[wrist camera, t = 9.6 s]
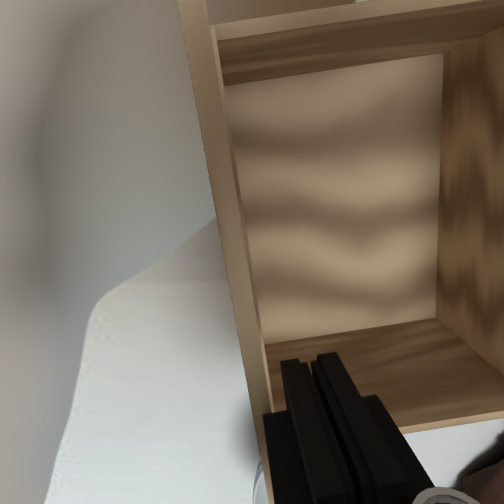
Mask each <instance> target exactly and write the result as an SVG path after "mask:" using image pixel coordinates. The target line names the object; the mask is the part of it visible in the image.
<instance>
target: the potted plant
mask: <svg viewBox="0 0 504 504" xmlns="http://www.w3.org/2000/svg"><path fill="white" fill-rule="evenodd" d="M462 483H463V489H464V493H465V494H466V495H468V496H470V497H471V498H473V499H474V500H476V501H478V502H479V503H480V504H504V459H503V460H502V461H500V462H499V463H497V464H494V465H492V466H489V467H486V468H484V469H482V470H480V471H477V472H475V473H473V474H471V475H469V476H467V477H465V478H463V479H462Z"/></svg>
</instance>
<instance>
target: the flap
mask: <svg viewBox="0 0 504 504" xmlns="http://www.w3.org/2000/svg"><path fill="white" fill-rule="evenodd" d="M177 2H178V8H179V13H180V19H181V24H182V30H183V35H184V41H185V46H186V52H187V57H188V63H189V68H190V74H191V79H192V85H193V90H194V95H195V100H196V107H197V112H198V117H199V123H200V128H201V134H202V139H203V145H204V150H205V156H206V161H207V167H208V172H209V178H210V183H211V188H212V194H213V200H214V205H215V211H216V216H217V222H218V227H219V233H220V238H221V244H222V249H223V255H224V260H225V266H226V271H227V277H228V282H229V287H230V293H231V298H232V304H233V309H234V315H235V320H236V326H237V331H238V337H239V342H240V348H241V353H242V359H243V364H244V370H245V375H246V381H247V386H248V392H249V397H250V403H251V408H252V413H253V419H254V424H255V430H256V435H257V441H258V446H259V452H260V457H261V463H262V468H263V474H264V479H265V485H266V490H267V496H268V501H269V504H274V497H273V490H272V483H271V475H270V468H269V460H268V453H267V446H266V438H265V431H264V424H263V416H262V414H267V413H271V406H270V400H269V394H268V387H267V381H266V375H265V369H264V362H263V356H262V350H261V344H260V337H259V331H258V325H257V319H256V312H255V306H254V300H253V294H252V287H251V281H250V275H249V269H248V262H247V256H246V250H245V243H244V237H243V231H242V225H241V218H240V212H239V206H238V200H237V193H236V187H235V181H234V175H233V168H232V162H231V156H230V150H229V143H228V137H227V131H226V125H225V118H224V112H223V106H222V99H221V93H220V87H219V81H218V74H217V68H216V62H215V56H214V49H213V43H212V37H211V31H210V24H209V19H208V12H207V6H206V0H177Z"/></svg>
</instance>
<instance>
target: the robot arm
mask: <svg viewBox="0 0 504 504" xmlns="http://www.w3.org/2000/svg"><path fill="white" fill-rule="evenodd" d="M280 367H281V374H282V381H283V388H284V395H285V402H286V409H287V410H284V411H279V412H273V413H267V414H262V416H263V424H264V431H265V438H266V446H267V453H268V460H269V468H270V475H271V483H272V490H273V497H274V504H480V503H479V502H478V501H476V500H474V499H473V498H471V497H470V496H468V495H466V494H465V493H462V492H459V491H457V490H454V489H451V488H444V487H435V486H434V484H433V483H432V481H431V479H430V478H429V476H428V475H427V473H426V471H425V470H424V468H423V467H422V465H421V464H420V462H419V460H418V459H417V457H416V456H415V454H414V452H413V451H412V449H411V448H410V446H409V444H408V443H407V441H406V440H405V438H404V436H403V435H402V433H401V432H400V430H399V429H398V427H397V425H396V424H395V422H394V421H393V419H392V417H391V416H390V414H389V413H388V411H387V409H386V408H385V406H384V405H383V403H382V401H381V400H380V399H379V397H378V396H377V395H375V394H374V395H368V396H363V397H361V395H360V393H359V391H358V390H357V388H356V386H355V384H354V382H353V381H352V379H351V377H350V375H349V374H348V372H347V370H346V368H345V366H344V365H343V363H342V361H341V359H340V357H339V356H338V354H337V352H329V353H324V354H318V355H317V360H314V361H311V371H312V374H311V371H310V369H309V366H308V364H307V362H303V363H300V361H299V358H295V359H289V360H284V361H280Z"/></svg>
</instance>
